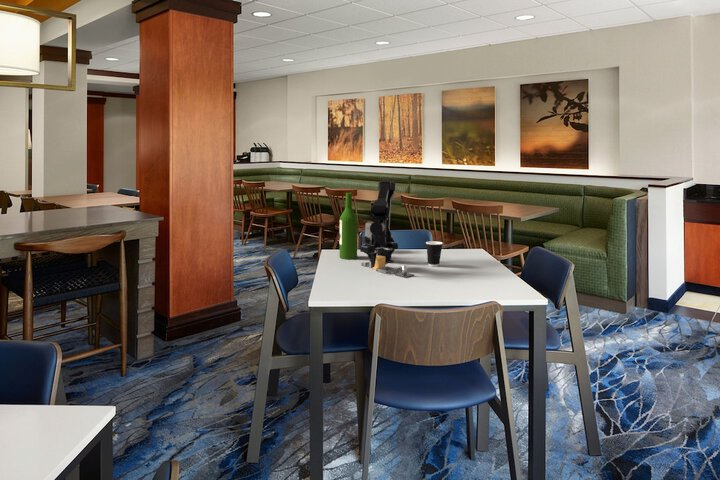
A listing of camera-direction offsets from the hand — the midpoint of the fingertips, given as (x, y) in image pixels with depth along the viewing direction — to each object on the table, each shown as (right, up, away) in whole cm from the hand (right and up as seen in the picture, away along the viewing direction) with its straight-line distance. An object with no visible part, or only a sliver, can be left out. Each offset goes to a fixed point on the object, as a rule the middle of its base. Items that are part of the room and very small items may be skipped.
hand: (379, 265), depth 235 cm
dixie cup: (+26, -1, +10) cm, 28 cm away
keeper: (+11, -4, -12) cm, 16 cm away
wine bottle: (-15, +3, +26) cm, 30 cm away
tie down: (0, -2, 0) cm, 2 cm away
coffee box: (-2, +5, +42) cm, 42 cm away
